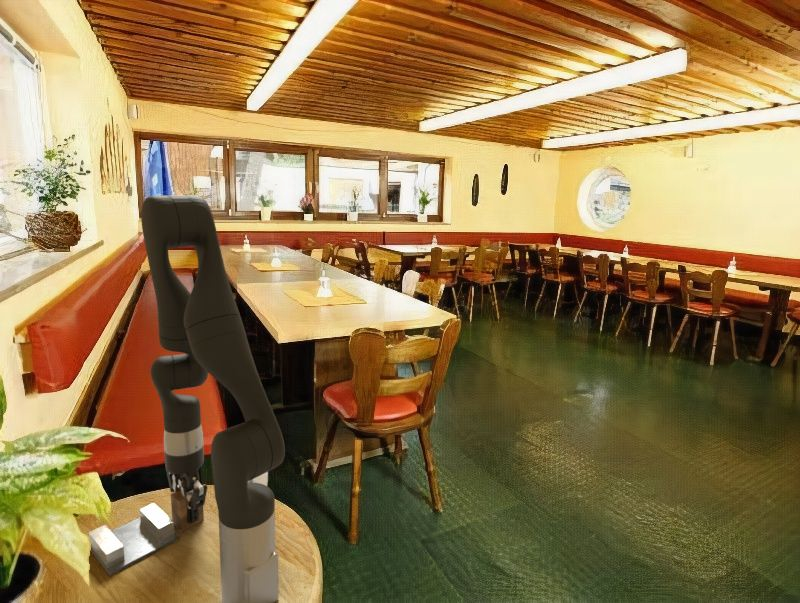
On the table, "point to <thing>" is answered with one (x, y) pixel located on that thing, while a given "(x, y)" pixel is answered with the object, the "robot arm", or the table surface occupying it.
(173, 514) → the walnut wick block
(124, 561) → the grey metal u-shaped piece
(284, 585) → the table surface
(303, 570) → the table surface
